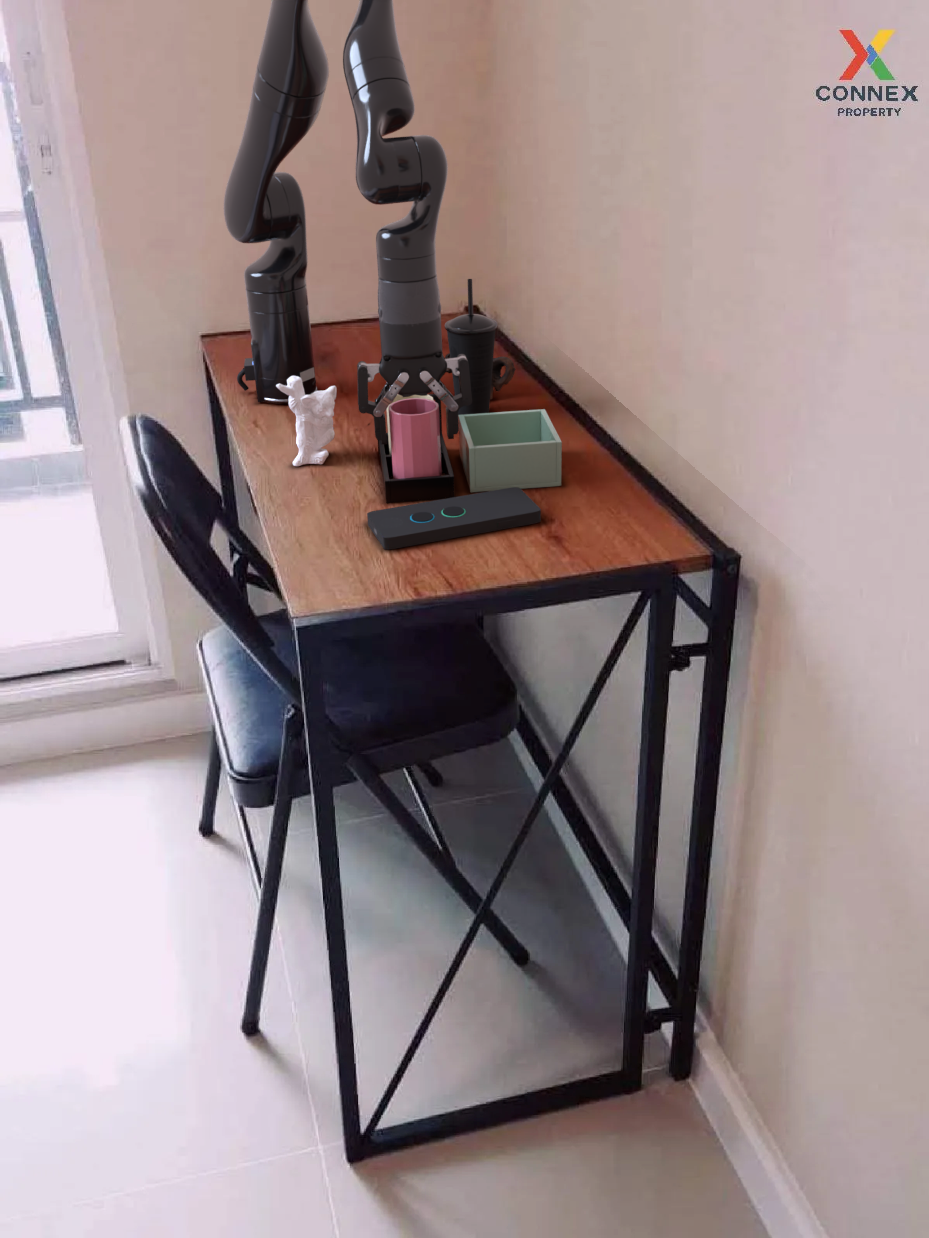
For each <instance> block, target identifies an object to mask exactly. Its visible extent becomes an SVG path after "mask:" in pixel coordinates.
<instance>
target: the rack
mask: <svg viewBox="0 0 929 1238" xmlns="http://www.w3.org/2000/svg"><path fill="white" fill-rule="evenodd" d="M428 395H430V396H432V397H433V400H434V401H435V402H437V403H438V405H439V420H440V444H441V468H442V476H428V477H415V478H401V479H393V470H392V455H389V443H388V432H386V436H387V444H381V440H377V450H378V455H379V462H380V468H381V476H382V482H383V483H382V484H383V491H384V497H385V504H386V503H387V504H390V503H404V502H416V501H418V502H419V501H433V500H441V499H447V498H453V497H456V492H455V491H456V489H455V488H456V487H455V474H454V470H453V467H452V464H451V460H450V456H449V453H448V449H447V446H446V442H445V439H444V435H443V424H442V423H443V421H442V419H443V418H442V401H441V400H440V399H439V398H438V397H437V396H436V395H435V394H434V393H429V394H428ZM376 399H377V398H374V401H375V400H376Z"/></svg>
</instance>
